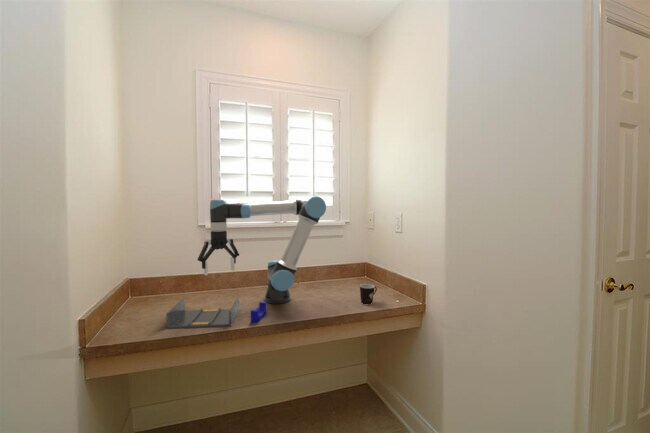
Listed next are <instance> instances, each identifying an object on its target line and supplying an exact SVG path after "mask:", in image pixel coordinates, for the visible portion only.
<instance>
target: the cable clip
mask: <svg viewBox="0 0 650 433" xmlns="http://www.w3.org/2000/svg"><path fill="white" fill-rule="evenodd" d="M265 315H267V302H265V301H260V302H259V306H258V307H257V308H256V309H251V310H250V323H251V324H258V323H259V322H260V321H261V320H262V319H263V317H264V316H265Z"/></svg>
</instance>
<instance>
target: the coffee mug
mask: <svg viewBox="0 0 650 433" xmlns="http://www.w3.org/2000/svg"><path fill="white" fill-rule="evenodd" d="M377 290H378V289H377V286H376V285H373V284H372V283H371V284H370V283H362V284H360V285H359V292H360V294H359V295H360V303H361V304H362V303H363V304H371V303H372V304H373V301H374V296H375V294H376V292H377ZM363 304H362V305H363Z"/></svg>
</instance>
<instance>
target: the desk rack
mask: <svg viewBox="0 0 650 433" xmlns="http://www.w3.org/2000/svg"><path fill="white" fill-rule="evenodd" d="M239 311H240V297H236V299H235V300H234V302H233V304H232V306H231V307H230V308H229V309H227V308H225V309H222V307H219V308H218V309H204V308H200V309H192V310H191V309H189V310H188V309H187V310H186V299H185V298H182V299H181V300H180V301H178V302H177V303H176V304H175V305H174V306H173V307H171V308H170V309H169V310H168V311H167V312H166V313H165V314H166V329H185V328H187V329H188V328H219V327H221V328H222V327H232V325H233V324H234V322H235V320H236V318H237V316H238V314H239Z"/></svg>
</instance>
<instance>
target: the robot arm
mask: <svg viewBox="0 0 650 433" xmlns="http://www.w3.org/2000/svg"><path fill="white" fill-rule="evenodd" d="M209 203H210V204H209V219H210V221H209V223H210V241H207V240H205V241H204V242H203V246H202V249H201V251H200V253H199V255H198V257H197V261H199V262H201V268H202V270H203V275H204V276H208V274H209V273H208V272H209V271H208V268H209V267H208V261H207V260H208V259H209V258H210V256H211V255H212V254H213V253H214V252H215V250H223V249H224V250H226V252H227V253H228V255H230V256H231V257H230V270H231V271H235V264H236V263H237V262H236V261H237V257H239V256H240V253H239V251H238V249H237V248H236V245H235V243H234V239H232V238H228V232H227V227H228V226H227V225H228V224H227V223H228V222H227V219H229V220H231V219H250V218H251V217H257V216H260V217H261V216H272V215H273V216H274V215H276V216H277V215H289V214H293V215H294V216H298V221H297V223H296V225H295V228H294V230H293V232H292V235H291V237H290V239H289V241H288V244H287V246H286V248H285V250H284V253H283V255H282V257H281V259H277V260H269V261H268V262H267V287H266V290H265V293H264V302H266V304H267V303H268V304H270V305H271V304H273V305H280V304H285V303H288V302H290V301H291V292H290V289H291V288H292V287H293V286H294V284H295V275H296V273H297V270H298V269H297V264H298V261H299V259H300V257H301V256H302V253H303V250H304V248H305V245H306V243H307V241H308V239H309V236H310V235H311V232H312V230H313V228H314V226H315V225H317V224H319V221H320V219H321V217H322V216H324V214H326V211H327V205H326V202H325V200H324V199H323V198H322V197H320V196H317V195H311V196H306V197H300V198H293V199H292V200H283V201H282V200H280V201H279V200H278V201H277V200H276V201H262V202H261V201H259V202H242V203H241V202H239V203H227V200H225V199H212V200H211V201H210V202H209ZM227 244H229V246H230V248H231V249H232V250H231V249H230V248H229V247H228V246H227ZM209 246H210V247H209ZM208 247H209V249H208ZM207 250H208V251H207Z"/></svg>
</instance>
